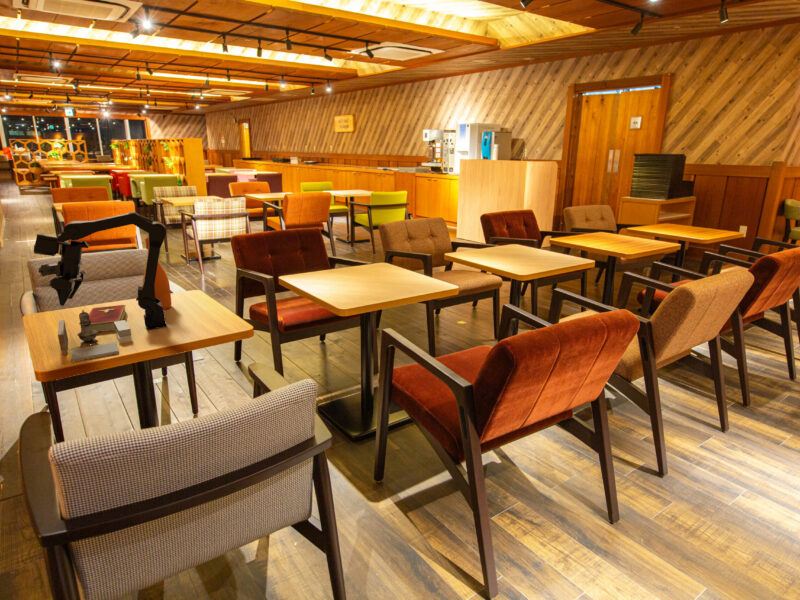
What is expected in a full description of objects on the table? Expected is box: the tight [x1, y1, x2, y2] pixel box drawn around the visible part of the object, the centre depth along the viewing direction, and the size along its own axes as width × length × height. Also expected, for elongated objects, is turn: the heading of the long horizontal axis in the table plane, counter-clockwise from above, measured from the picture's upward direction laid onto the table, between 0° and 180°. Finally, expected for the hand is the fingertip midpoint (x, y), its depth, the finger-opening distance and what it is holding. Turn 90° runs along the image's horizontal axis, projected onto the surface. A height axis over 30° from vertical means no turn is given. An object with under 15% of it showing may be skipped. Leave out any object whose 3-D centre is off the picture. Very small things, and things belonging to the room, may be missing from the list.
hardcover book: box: [88, 304, 127, 333], centre depth 190 cm, size 12×21×4 cm, turn 22°
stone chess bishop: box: [76, 309, 99, 346], centre depth 170 cm, size 6×6×12 cm
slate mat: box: [70, 341, 120, 363], centre depth 163 cm, size 13×9×1 cm
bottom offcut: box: [116, 332, 133, 344], centre depth 177 cm, size 4×12×2 cm, turn 32°
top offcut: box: [114, 319, 132, 337], centre depth 176 cm, size 4×11×2 cm, turn 37°
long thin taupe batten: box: [57, 319, 69, 356], centre depth 167 cm, size 2×16×7 cm, turn 32°
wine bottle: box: [142, 237, 172, 311], centre depth 204 cm, size 10×10×30 cm
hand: (66, 302), depth 172 cm, fingers open, 9 cm apart
